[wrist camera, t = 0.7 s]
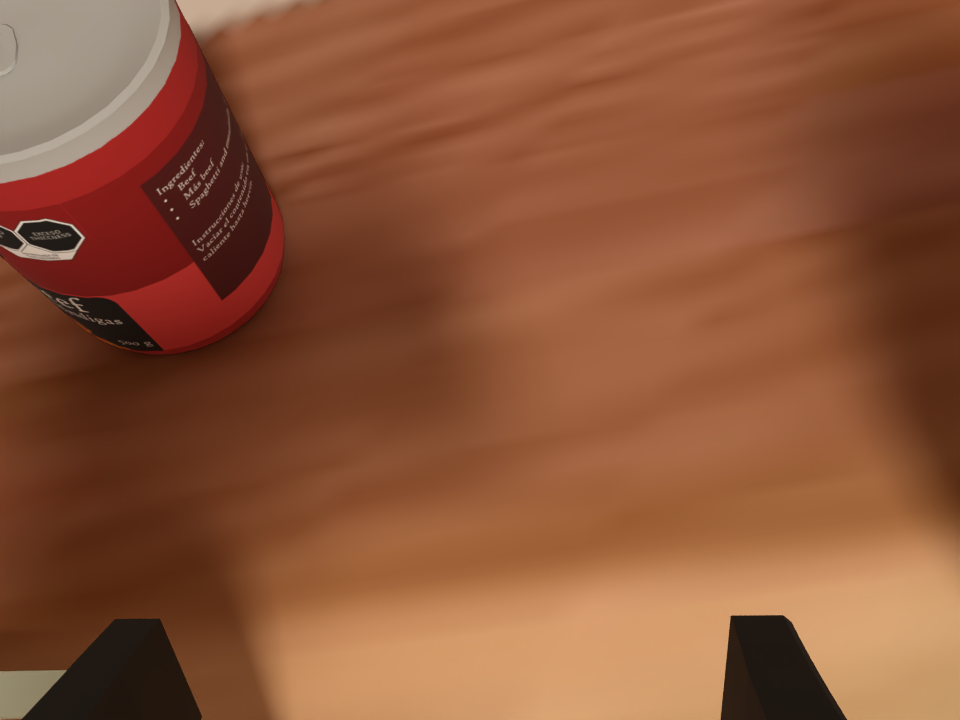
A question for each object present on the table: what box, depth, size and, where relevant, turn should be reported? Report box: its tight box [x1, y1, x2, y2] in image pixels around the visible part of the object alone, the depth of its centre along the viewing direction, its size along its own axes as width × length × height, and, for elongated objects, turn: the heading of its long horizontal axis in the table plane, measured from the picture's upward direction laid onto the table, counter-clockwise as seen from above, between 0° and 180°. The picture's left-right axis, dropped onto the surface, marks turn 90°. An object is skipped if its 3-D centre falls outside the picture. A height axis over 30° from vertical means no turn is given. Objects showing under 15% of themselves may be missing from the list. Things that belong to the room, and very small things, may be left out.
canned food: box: [0, 0, 284, 355], centre depth 26 cm, size 8×8×11 cm
